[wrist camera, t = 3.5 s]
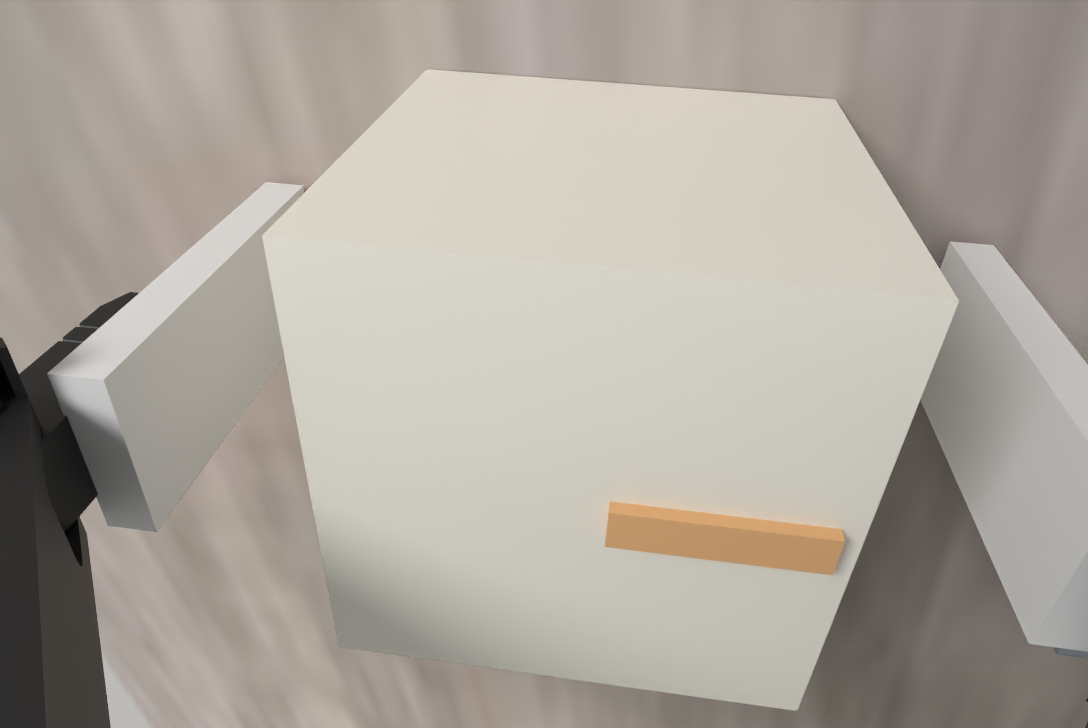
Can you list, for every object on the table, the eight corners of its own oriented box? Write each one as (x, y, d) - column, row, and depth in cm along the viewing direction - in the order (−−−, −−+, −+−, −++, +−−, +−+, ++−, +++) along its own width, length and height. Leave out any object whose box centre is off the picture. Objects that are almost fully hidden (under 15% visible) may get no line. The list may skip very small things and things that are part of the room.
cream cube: (426, 69, 14) (253, 244, 8) (835, 99, 13) (966, 311, 7) (442, 389, 18) (334, 657, 12) (755, 423, 17) (799, 723, 11)
